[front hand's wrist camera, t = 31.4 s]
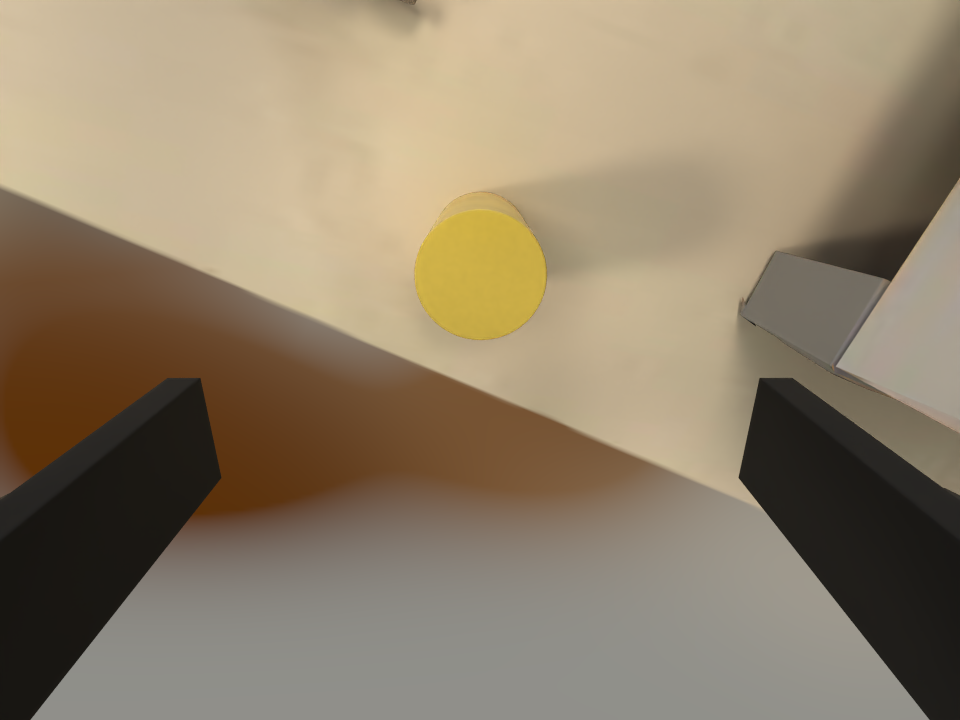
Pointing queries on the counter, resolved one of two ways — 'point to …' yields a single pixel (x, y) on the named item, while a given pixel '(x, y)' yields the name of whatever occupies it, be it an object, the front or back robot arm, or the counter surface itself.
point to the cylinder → (480, 268)
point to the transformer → (877, 318)
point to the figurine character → (409, 1)
